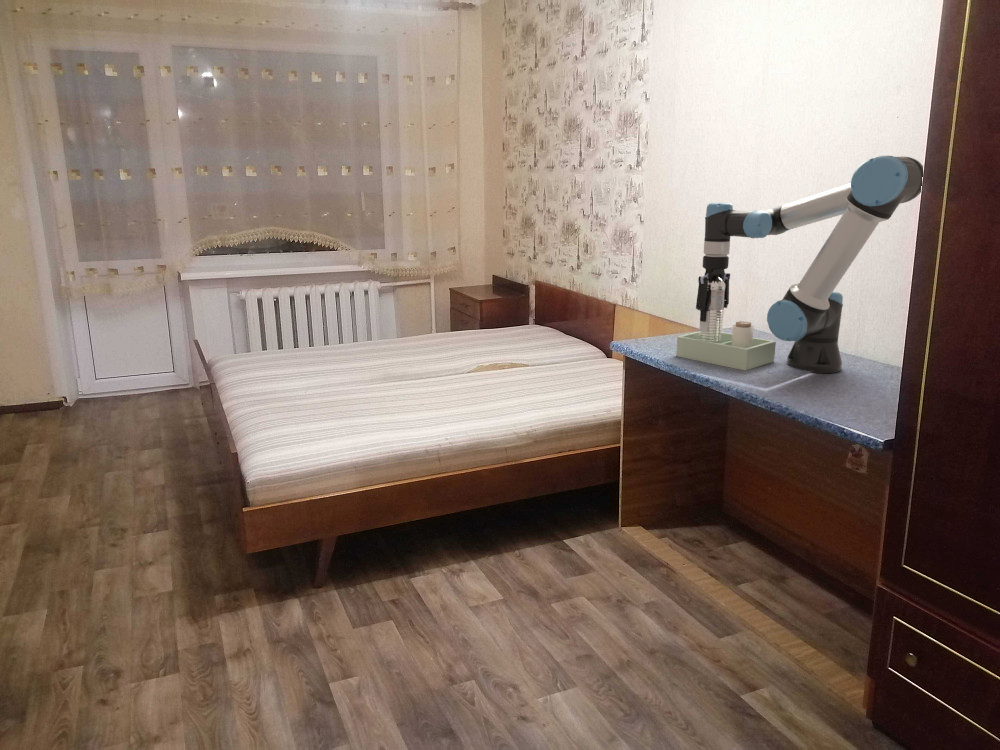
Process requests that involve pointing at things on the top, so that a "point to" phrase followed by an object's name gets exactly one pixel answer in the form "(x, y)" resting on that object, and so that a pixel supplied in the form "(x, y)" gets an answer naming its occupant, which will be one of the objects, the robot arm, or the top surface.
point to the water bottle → (715, 313)
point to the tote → (726, 351)
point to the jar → (742, 334)
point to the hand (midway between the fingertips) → (710, 329)
